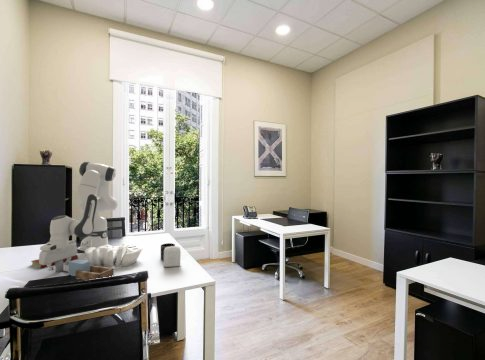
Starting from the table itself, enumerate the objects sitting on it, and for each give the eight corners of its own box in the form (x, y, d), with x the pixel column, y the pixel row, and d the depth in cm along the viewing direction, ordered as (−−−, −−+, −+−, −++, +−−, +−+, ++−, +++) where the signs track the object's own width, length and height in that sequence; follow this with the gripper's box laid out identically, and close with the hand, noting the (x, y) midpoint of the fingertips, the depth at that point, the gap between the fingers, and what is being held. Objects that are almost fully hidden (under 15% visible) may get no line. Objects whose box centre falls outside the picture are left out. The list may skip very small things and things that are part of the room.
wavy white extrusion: (77, 267, 152) (77, 250, 152) (91, 259, 168) (91, 243, 168) (135, 267, 154) (135, 250, 154) (144, 258, 171) (144, 243, 171)
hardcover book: (77, 260, 166) (78, 254, 166) (40, 270, 148) (40, 263, 147) (68, 257, 172) (68, 251, 172) (31, 267, 154) (31, 260, 153)
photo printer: (180, 264, 160) (180, 245, 160) (180, 266, 156) (180, 246, 156) (163, 265, 158) (163, 245, 158) (163, 267, 154) (163, 247, 153)
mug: (172, 261, 165) (172, 247, 165) (157, 259, 169) (157, 246, 169) (180, 257, 174) (180, 244, 174) (166, 255, 178) (166, 242, 178)
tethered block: (90, 274, 142) (90, 261, 142) (82, 277, 137) (82, 264, 137) (61, 269, 148) (61, 257, 148) (52, 272, 143) (52, 259, 143)
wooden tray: (113, 276, 140) (113, 268, 140) (99, 282, 131) (99, 274, 131) (90, 272, 144) (90, 265, 144) (75, 279, 135) (75, 270, 135)
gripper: (72, 239, 156) (71, 261, 156) (36, 247, 136) (36, 273, 136) (79, 240, 154) (79, 262, 154) (45, 249, 134) (45, 274, 134)
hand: (59, 267), depth 145 cm, fingers open, 8 cm apart
